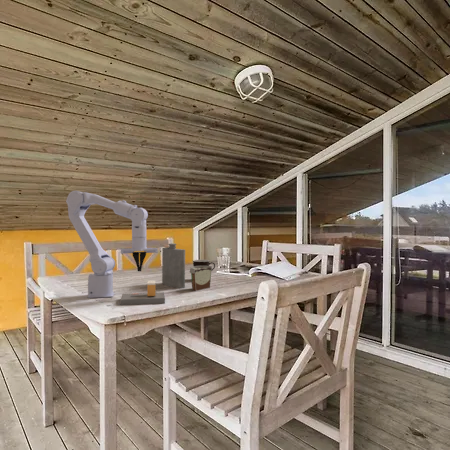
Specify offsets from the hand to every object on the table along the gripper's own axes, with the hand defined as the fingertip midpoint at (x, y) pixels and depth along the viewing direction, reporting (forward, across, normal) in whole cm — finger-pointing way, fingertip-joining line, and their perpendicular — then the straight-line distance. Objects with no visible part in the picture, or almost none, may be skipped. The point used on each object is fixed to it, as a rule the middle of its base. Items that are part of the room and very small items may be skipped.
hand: (139, 271), depth 142 cm
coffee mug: (+11, +32, +34) cm, 48 cm away
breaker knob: (+8, +5, -8) cm, 12 cm away
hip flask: (+11, +14, +21) cm, 28 cm away
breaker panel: (+10, +2, -8) cm, 13 cm away
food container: (+11, +26, +12) cm, 30 cm away
